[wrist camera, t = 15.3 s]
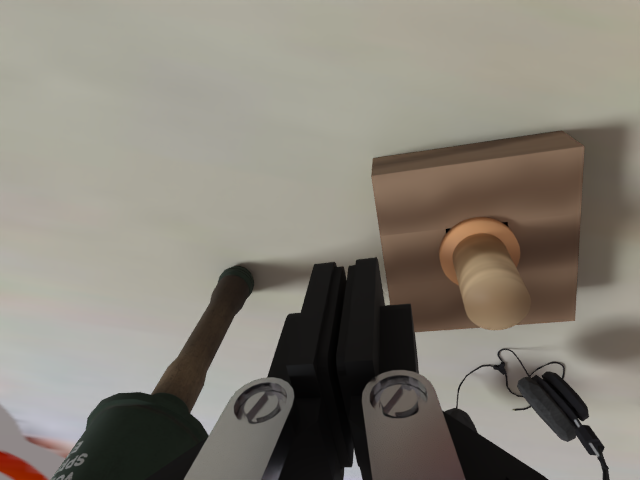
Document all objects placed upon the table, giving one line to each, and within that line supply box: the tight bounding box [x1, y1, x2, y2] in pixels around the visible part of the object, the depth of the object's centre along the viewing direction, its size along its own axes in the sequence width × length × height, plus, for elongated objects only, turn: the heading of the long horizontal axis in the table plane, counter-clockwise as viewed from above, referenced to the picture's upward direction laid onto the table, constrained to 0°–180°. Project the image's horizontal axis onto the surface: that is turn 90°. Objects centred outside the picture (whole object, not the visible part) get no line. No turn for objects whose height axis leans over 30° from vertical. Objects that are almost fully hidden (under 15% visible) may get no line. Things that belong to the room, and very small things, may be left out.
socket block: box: [371, 131, 584, 332], centre depth 42 cm, size 16×16×5 cm
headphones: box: [445, 349, 610, 480], centre depth 43 cm, size 15×11×20 cm
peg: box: [439, 217, 531, 330], centre depth 38 cm, size 6×6×13 cm
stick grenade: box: [51, 266, 254, 480], centre depth 37 cm, size 8×9×30 cm
